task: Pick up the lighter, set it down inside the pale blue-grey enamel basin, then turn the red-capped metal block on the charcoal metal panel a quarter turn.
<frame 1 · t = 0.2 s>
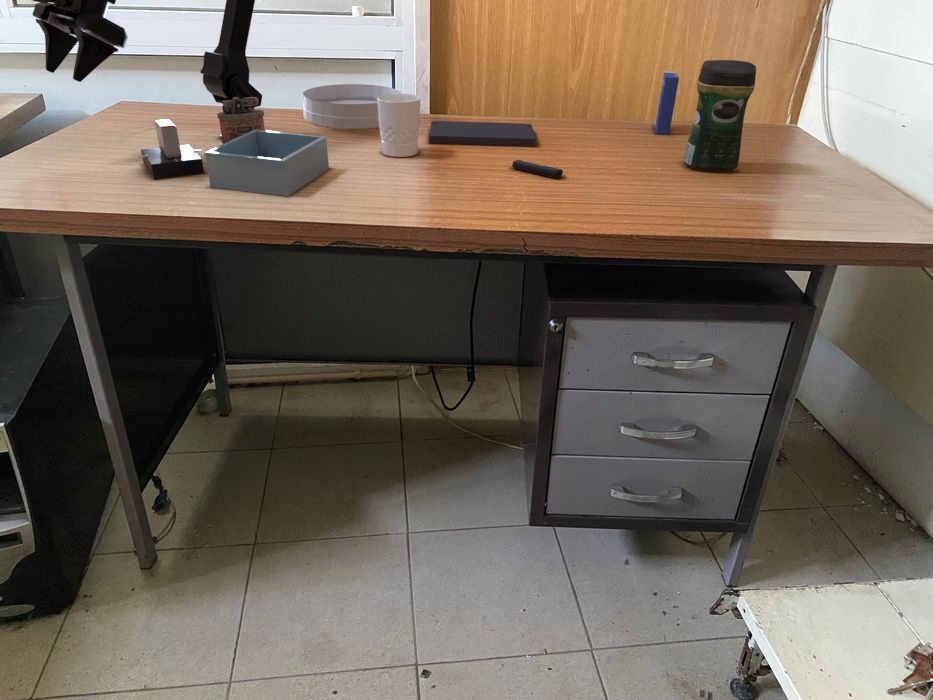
hand: (62, 76, 111), 15 cm above the table, tool tilted 30°, fingers open, 9 cm apart
white cup: (399, 153, 133), on the table
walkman: (661, 131, 154), on the table
lighter: (246, 155, 129), on the table
notebook: (481, 137, 145), on the table
dish: (354, 117, 157), on the table
basin: (272, 177, 117), on the table
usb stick: (536, 174, 124), on the table
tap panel: (173, 168, 120), on the table
red-capped metal block: (167, 138, 117), point 5 cm above the table, hinge at 0.0°
coffee jar: (708, 167, 131), on the table
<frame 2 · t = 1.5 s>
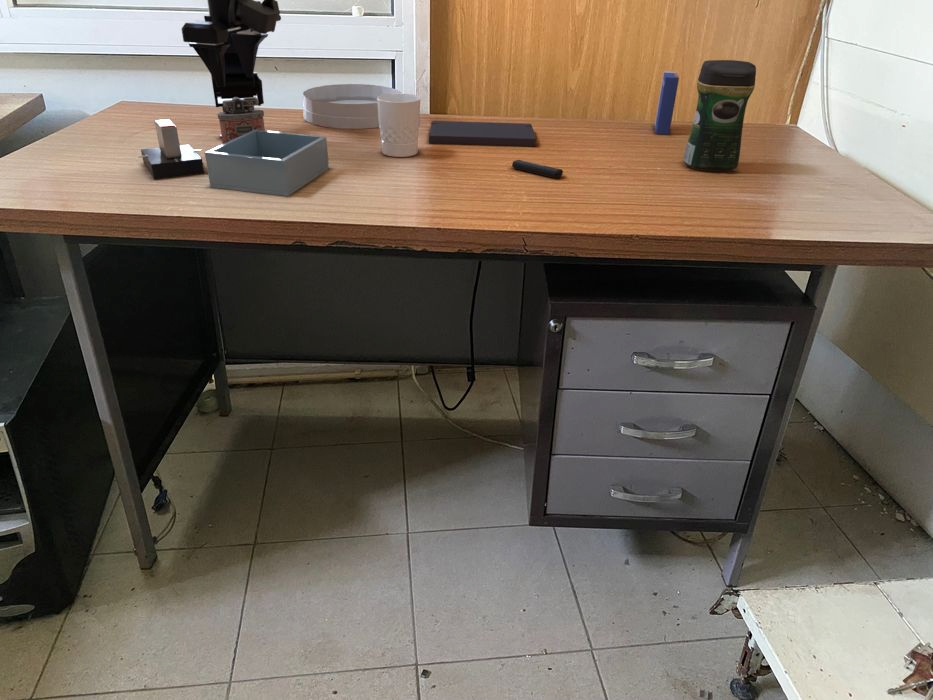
hand: (236, 81, 122), 13 cm above the table, tool pointing down, fingers open, 9 cm apart
nothing on the table moved.
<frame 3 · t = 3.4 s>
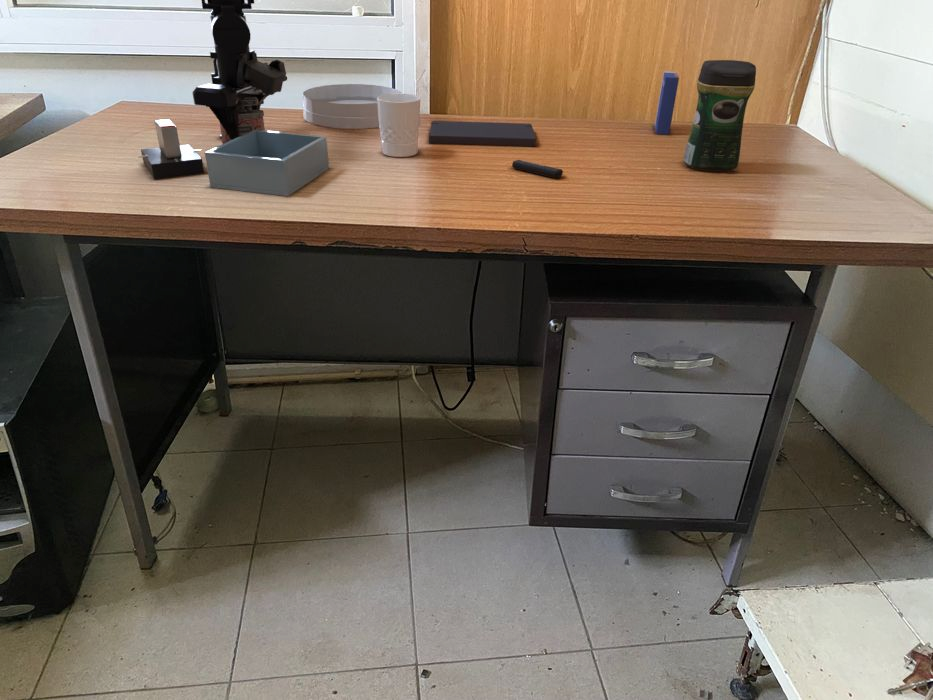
hand: (243, 137, 127), 3 cm above the table, tool pointing down, fingers closed on lighter, 5 cm apart
lighter: (246, 155, 129), on the table, touching gripper
everything else where it was.
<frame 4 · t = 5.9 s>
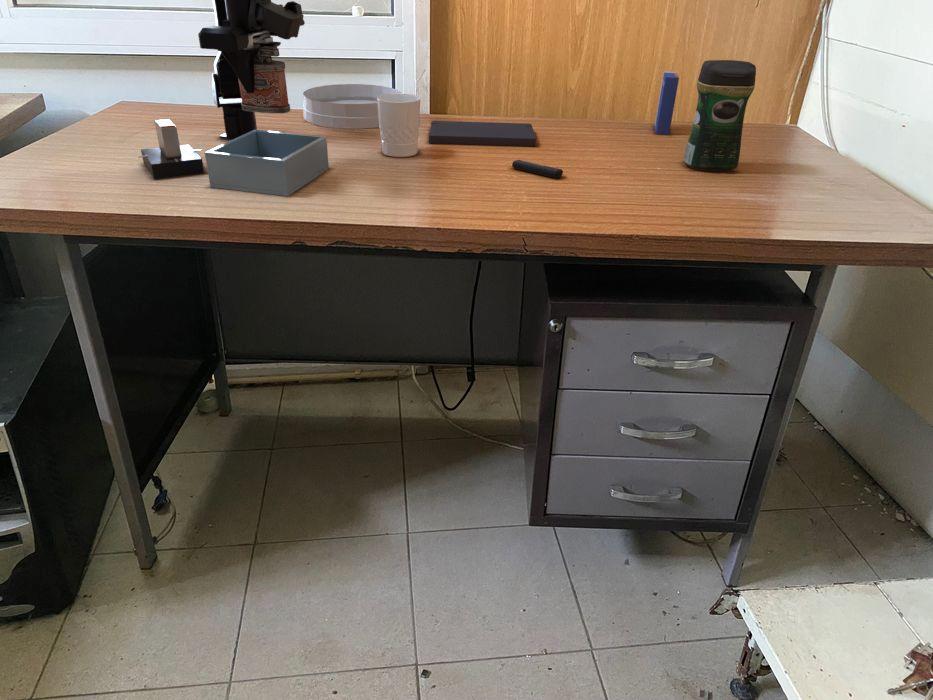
hand: (255, 91, 113), 13 cm above the table, tool pointing down, fingers closed on lighter, 3 cm apart
lighter: (266, 110, 115), point 10 cm above the table, touching gripper
everything else where it was.
when the fingers open (4 cm above the table, at t = 8.6 s): lighter stays where it is, resting on basin.
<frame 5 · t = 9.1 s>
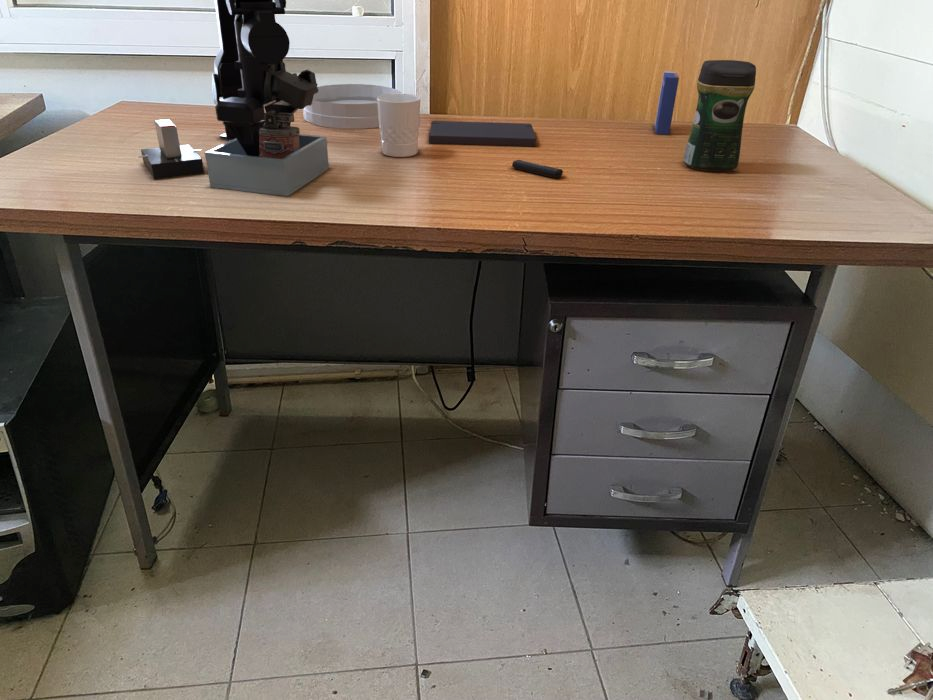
hand: (269, 155, 115), 4 cm above the table, tool pointing down, fingers open, 9 cm apart
lighter: (279, 174, 118), resting on basin
everything else where it was.
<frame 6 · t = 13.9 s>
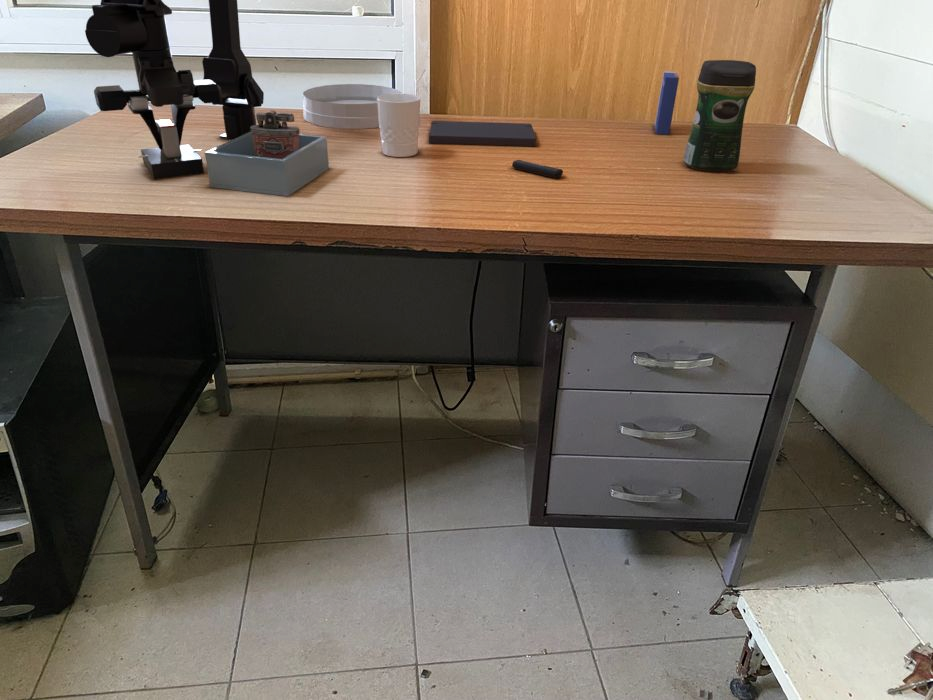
hand: (169, 147, 118), 4 cm above the table, tool pointing down, fingers closed on red-capped metal block, 2 cm apart
red-capped metal block: (167, 138, 117), point 5 cm above the table, hinge at 0.0°, touching gripper
everything else where it was.
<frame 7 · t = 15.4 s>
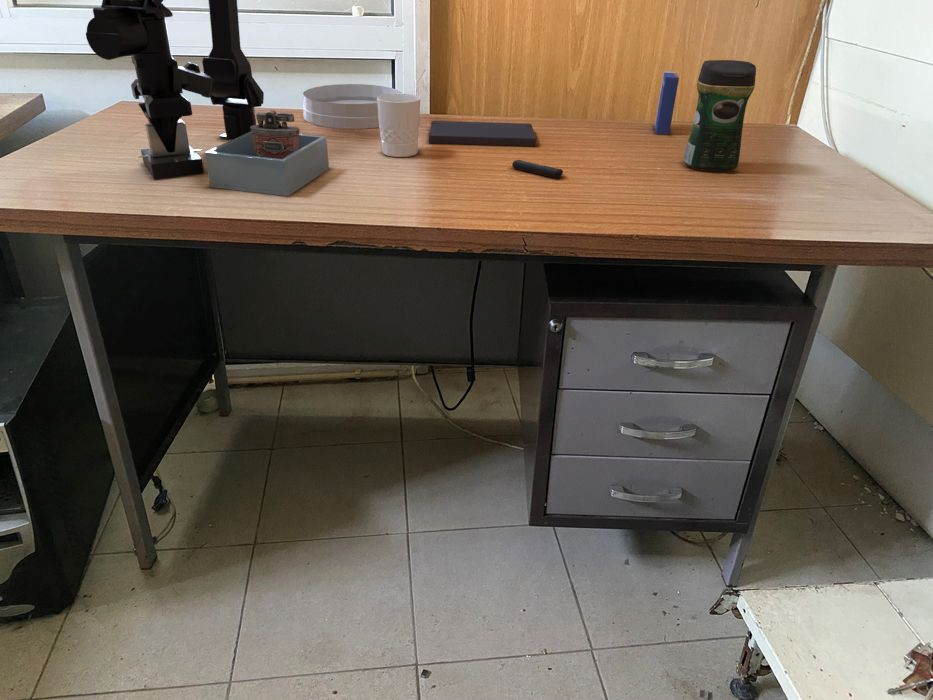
hand: (169, 150, 118), 3 cm above the table, tool pointing down, fingers closed
red-capped metal block: (167, 138, 117), point 5 cm above the table, hinge at 89.5°
everything else where it was.
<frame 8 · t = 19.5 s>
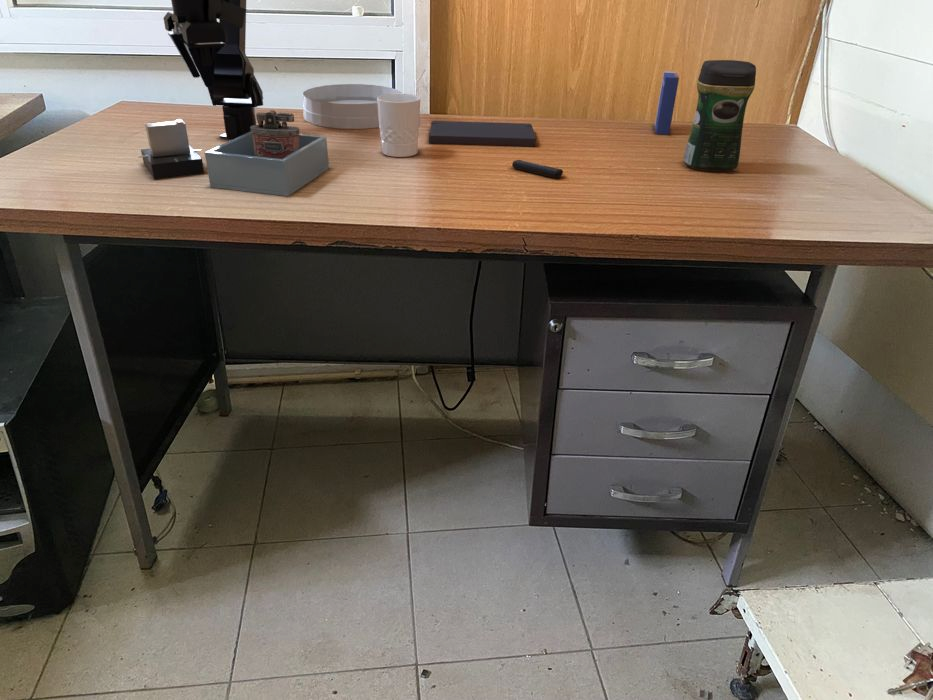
hand: (202, 82, 119), 13 cm above the table, tool pointing down, fingers open, 9 cm apart
nothing on the table moved.
at the end: lighter inside the target area in the basin (1.3 cm from its centre), point 0.4 cm above the basin's base; red-capped metal block at +90° (first picture: +0°) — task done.
